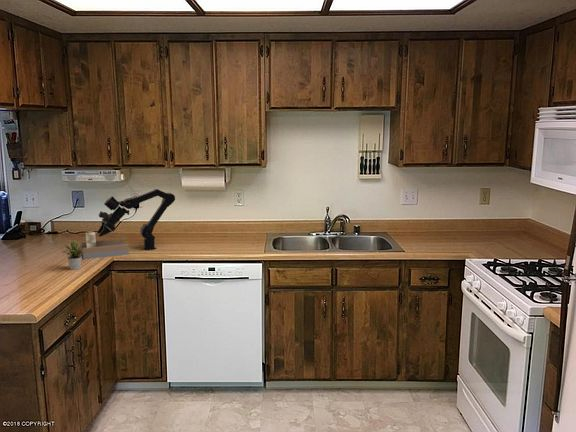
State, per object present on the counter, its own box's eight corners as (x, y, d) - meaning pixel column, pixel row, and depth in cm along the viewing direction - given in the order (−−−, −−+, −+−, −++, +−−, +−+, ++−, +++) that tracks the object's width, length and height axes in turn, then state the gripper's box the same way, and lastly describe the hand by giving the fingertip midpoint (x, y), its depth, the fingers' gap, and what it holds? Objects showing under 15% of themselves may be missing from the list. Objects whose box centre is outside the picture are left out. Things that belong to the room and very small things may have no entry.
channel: (124, 247, 309) (123, 238, 308) (128, 254, 294) (128, 244, 292) (81, 251, 298) (80, 242, 297) (83, 258, 282) (83, 248, 281)
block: (95, 248, 295) (94, 232, 294) (96, 250, 291) (95, 233, 289) (86, 248, 293) (85, 232, 291) (87, 250, 289) (86, 234, 287)
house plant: (55, 267, 264) (53, 238, 261) (81, 263, 274) (79, 234, 271) (65, 273, 254) (63, 242, 251) (91, 268, 264) (89, 238, 261)
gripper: (104, 204, 300) (86, 223, 297) (108, 208, 284) (89, 228, 281) (118, 216, 305) (100, 234, 302) (123, 221, 289) (104, 241, 286)
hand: (98, 234), depth 293 cm, fingers open, 9 cm apart
